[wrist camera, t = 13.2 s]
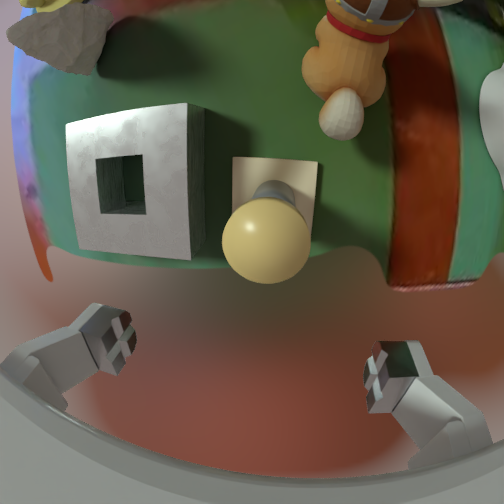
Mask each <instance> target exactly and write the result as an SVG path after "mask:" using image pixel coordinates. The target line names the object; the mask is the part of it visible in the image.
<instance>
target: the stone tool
mask: <svg viewBox="0 0 504 504" xmlns="http://www.w3.org/2000/svg"><path fill="white" fill-rule="evenodd" d="M113 20H114V18H113V15H112V13H111V12H110V11H109V10H107V9H103V8H101V7H98V6H96V5H90V4H83V3H79V2H75V3H73V4H65V5H63V6H62V7H60V8H58V9H56V10H54V11H52V12H39V13H35V14H33V15H31V16H27V17H25V18H23V19H22V20H21V21H19V22H17V23H15V24H14V25H12V26H11V27H10V28H8V29H7V31H6V35H7V38H8V40H9V42H11V43H12V44H13V45H15V46H17V47H18V48H20V49H22V50H23V51H24V52H25V53H26V55H29V56H32V57H34V58H36V59H38V60H41V61H45V62H47V63H48V64H49V65H51V66H52V67H55V68H56V69H58V70H62V71H64V72H67V73H74V74H76V75H77V74H82V75H87V76H88V75H90V74H91V72H92V70H93V68H94V67H95V65H96V63H97V60H98V58H99V57H100V55H101V53H102V49H103V45H104V44H105V42H106V40H105V38H106V32H107V30H108V28H109V26H110V24H111V23H112V22H113Z"/></svg>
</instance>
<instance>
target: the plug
mask: <svg viewBox="0 0 504 504" xmlns="http://www.w3.org/2000/svg"><path fill="white" fill-rule="evenodd" d="M222 246H223V251H224V254H225V257H226V259H227V261H228V263H229V264H230V265H231V267H232V268H233V269H234V270H235V271H236V272H237V273H238V274H240V275H241V276H243V277H244V278H246V279H248V280H251V281H254V282H258V283H265V284H266V283H267V284H270V283H278V282H282V281H284V280H287V279H288V278H291V277H292V276H294V275H295V274H296V273H298V272H299V271H300V269H301V268H302V267H303V266H304V264H305V263H306V261H307V259H308V256H309V253H310V247H311V241H310V234H309V230H308V226H307V223H306V220H305V219H304V217H303V215H302V214H301V213H300V211H299V210H298V209H297V208H296V204H295V197H294V193H293V191H292V189H291V188H290V187H289V186H288V185H287V184H286V183H284V182H282V181H279V180H268V181H266V182H263V183H262V184H261V185H259V186H258V188H257V189H256V191H255V193H254V195H253V196H252V198H251V200H249V201H247V202H245V203H243V204H242V205H241V206H239V207H238V208H237V209H236V210H235V211H234V213H233V214H232V216H231V217H230V219H229V220H228V222H227V224H226V226H225V228H224V231H223V236H222Z"/></svg>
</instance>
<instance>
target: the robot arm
mask: <svg viewBox="0 0 504 504" xmlns="http://www.w3.org/2000/svg"><path fill="white" fill-rule="evenodd" d="M479 113H480V122H481V128H482V133H483V137H484V140H485V144H486V147H487V149H488V152H489V154H490V156H491V158H492V160H493V162H494V164H495V165H496V167H497V169H498V171H499V173H500V175H501V180H502V185H503V189H504V63H503V65H502V67H501V68H500V69H498V70H495V71H493V72H491V73H490V74H488V76H487V77H486V78H485V80H484V82H483V84H482V87H481V92H480V99H479ZM131 322H132V318H131V315H130V313H129V312H128V311H125V310H121V309H117V308H114V307H110V306H106V305H102V304H98V303H92V304H91V305H90V306H89V307H88V308H87V309H86V310H85V311H84V312H83V313H82V314H81V315H80V316H79V317H78V318H77V319H76V320H75V321H74V322H73V323H72V324H71V325H70V326H69V327H63V328H60V329H58V330H55V331H53V332H50V333H48V334H45V335H43V336H40V337H38V338H35V339H32V340H30V341H27V342H25V343H22V344H20V345H18V346H17V347H16V348H15V349H14V350H13V351H12V352H11V353H10V354H9V355H8V356H7V358H6V359H5V360H4V361H3V362H2V363H1V364H0V504H504V439H503V440H501V441H499V442H496V443H494V444H493V442H492V439H491V436H490V432H489V429H488V426H487V423H486V421H485V418H484V415H483V413H482V412H481V411H480V410H479V409H478V408H476V407H475V406H474V405H473V404H471V403H470V402H469V401H468V400H467V399H466V398H464V397H463V396H462V395H461V394H460V393H458V392H457V391H456V390H455V389H453V388H452V387H451V386H450V385H448V384H447V383H446V382H445V381H444V380H442V379H441V378H440V377H439V376H437V375H435V376H434V375H433V373H432V370H431V367H430V365H429V363H428V360H427V358H426V355H425V353H424V351H423V348H422V346H421V344H420V342H419V341H418V340H406V341H376V342H375V343H374V345H373V347H372V354H373V356H371V357H370V358H369V359H368V360H367V362H366V364H365V367H364V374H363V381H364V386H365V388H366V389H368V391H369V392H368V394H367V396H366V400H367V407H368V413H388V412H392V415H393V416H394V417H395V418H396V419H397V421H398V422H399V423H400V425H401V426H402V427H403V428H404V430H405V431H406V432H407V434H408V435H409V436H410V437H411V439H412V440H413V441H414V442H415V444H416V445H417V446H418V447H419V449H420V451H419V452H418V453H416V454H415V455H414V456H413V457H412V458H411V459H410V460H409V461H408V467H409V470H405V471H399V472H393V473H386V474H379V475H371V476H361V477H348V478H324V479H323V478H322V479H321V478H285V477H272V476H262V475H253V474H246V473H239V472H233V471H227V470H222V469H217V468H212V467H208V466H203V465H199V464H195V463H191V462H187V461H183V460H180V459H176V458H173V457H169V456H166V455H163V454H160V453H156V452H153V451H150V450H148V449H145V448H142V447H139V446H137V445H134V444H132V443H129V442H126V441H124V440H122V439H119V438H117V437H115V436H112V435H110V434H107V433H106V432H103V431H101V430H99V429H97V428H95V427H93V426H91V425H89V424H87V423H85V422H83V421H81V420H79V419H77V418H75V417H73V416H72V415H70V414H68V413H66V412H65V410H66V408H67V406H68V403H67V401H66V400H65V398H64V397H63V396H62V393H64V392H66V391H67V390H69V389H70V388H72V387H74V386H75V385H77V384H79V383H80V382H82V381H83V380H85V379H86V378H88V377H90V376H91V375H93V374H95V373H96V372H98V370H101V371H104V372H107V373H110V374H113V375H116V376H118V374H119V373H120V371H121V370H122V368H123V366H124V365H125V364H126V362H125V357H127V356H130V355H131V354H132V353H133V351H134V350H135V347H136V343H137V336H136V332H135V329H134V328H133V327H132V326H131V325H130V323H131Z"/></svg>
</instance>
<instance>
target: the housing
mask: <svg viewBox="0 0 504 504" xmlns="http://www.w3.org/2000/svg"><path fill="white" fill-rule="evenodd" d="M204 137H205V108H203V107H200V106H196V105H193V104H189V103H181V104H171V105H162V106H154V107H147V108H140V109H134V110H128V111H122V112H117V113H112V114H107V115H102V116H98V117H93V118H89V119H85V120H81V121H77V122H73V123H69V124H66V148H67V165H68V177H69V186H70V195H71V203H72V209H73V216H74V222H75V228H76V233H77V238H78V243H79V248H80V249H85V250H94V251H103V252H113V253H122V254H132V255H142V256H152V257H162V258H173V259H183V260H192V258H193V257H194V256H195V254H196V253H197V252H198V250H199V249H200V248H201V246H202V245H203V243H204V242H205V241H206V226H205V179H204ZM141 154H143V173H144V190H145V201H125V190H124V177H123V159H122V156H128V155H141Z"/></svg>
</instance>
